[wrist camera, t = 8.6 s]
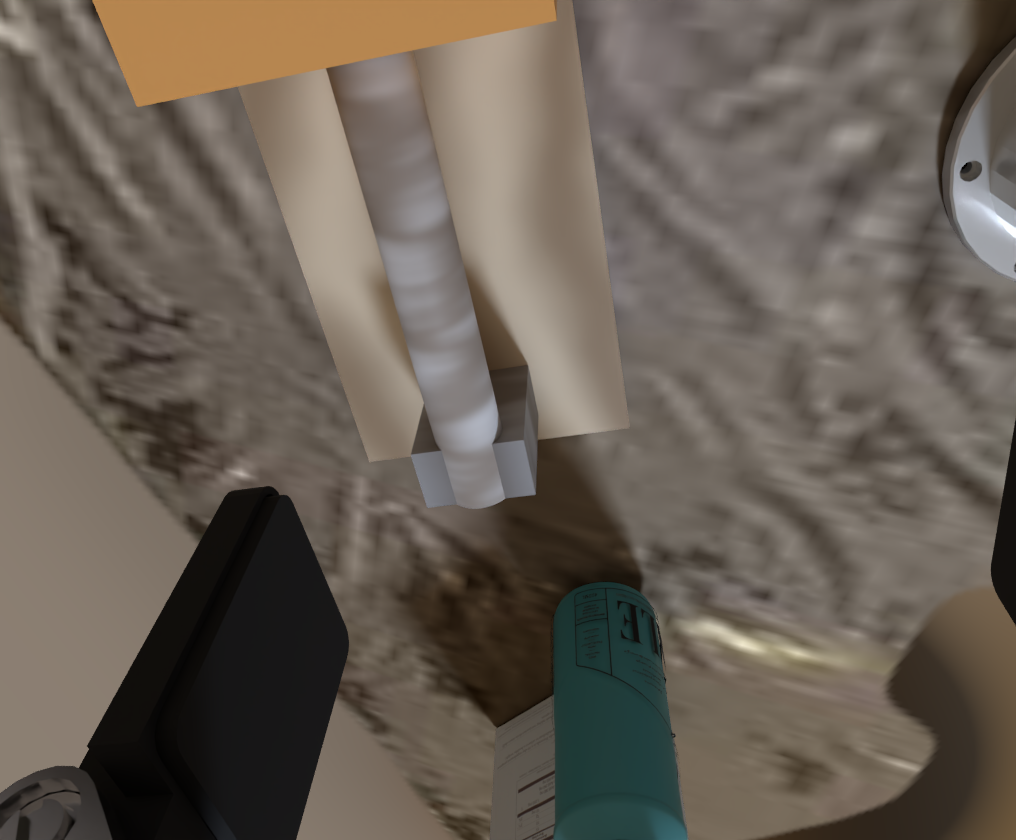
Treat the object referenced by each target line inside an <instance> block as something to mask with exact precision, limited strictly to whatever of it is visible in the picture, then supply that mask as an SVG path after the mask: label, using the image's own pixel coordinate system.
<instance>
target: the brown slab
mask: <svg viewBox="0 0 1016 840" xmlns="http://www.w3.org/2000/svg"><path fill="white" fill-rule="evenodd" d="M93 3H94V5H95V8H96V10H97V12H98V15H99V17H100V19H101V22H102V24H103V27H104V29H105V31H106V34H107V36H108V39H109V41H110V43H111V46H112V48H113V50H114V53H115V55H116V58H117V60H118V62H119V65H120V67H121V70H122V72H123V74H124V77H125V79H126V81H127V84H128V86H129V89H130V91H131V93H132V96H133V98H134V101H135V103H136V105H137V107H140V106H145V105H150V104H154V103H159V102H164V101H169V100H174V99H179V98H184V97H188V96H193V95H198V94H203V93H208V92H213V91H218V90H222V89H227V88H232V87H237V86H242V85H247V84H252V83H257V82H261V81H266V80H271V79H276V78H281V77H286V76H291V75H295V74H300V73H305V72H310V71H315V70H320V69H325V68H329V67H334V66H339V65H344V64H349V63H354V62H359V61H363V60H368V59H373V58H378V57H383V56H388V55H393V54H397V53H402V52H407V51H412V50H417V49H422V48H427V47H431V46H436V45H441V44H446V43H451V42H456V41H461V40H466V39H470V38H475V37H480V36H485V35H490V34H495V33H500V32H504V31H509V30H514V29H519V28H524V27H529V26H534V25H538V24H543V23H548V22H553V21H557V0H93Z"/></svg>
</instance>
